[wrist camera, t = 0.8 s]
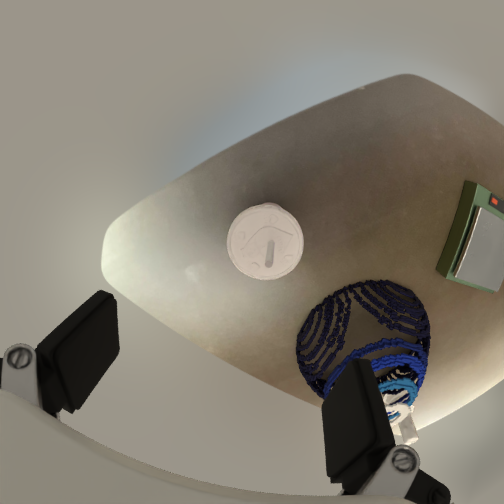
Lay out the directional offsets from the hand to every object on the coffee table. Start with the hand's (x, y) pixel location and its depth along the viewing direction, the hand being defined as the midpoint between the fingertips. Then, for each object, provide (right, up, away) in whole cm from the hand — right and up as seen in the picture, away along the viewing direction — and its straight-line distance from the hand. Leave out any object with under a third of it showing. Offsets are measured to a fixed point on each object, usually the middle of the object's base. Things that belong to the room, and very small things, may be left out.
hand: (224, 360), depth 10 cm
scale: (+33, +6, +19) cm, 39 cm away
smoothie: (+3, +8, +22) cm, 23 cm away
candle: (+28, -22, +30) cm, 46 cm away
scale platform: (+33, +4, +16) cm, 37 cm away
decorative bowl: (+17, -9, +26) cm, 33 cm away
